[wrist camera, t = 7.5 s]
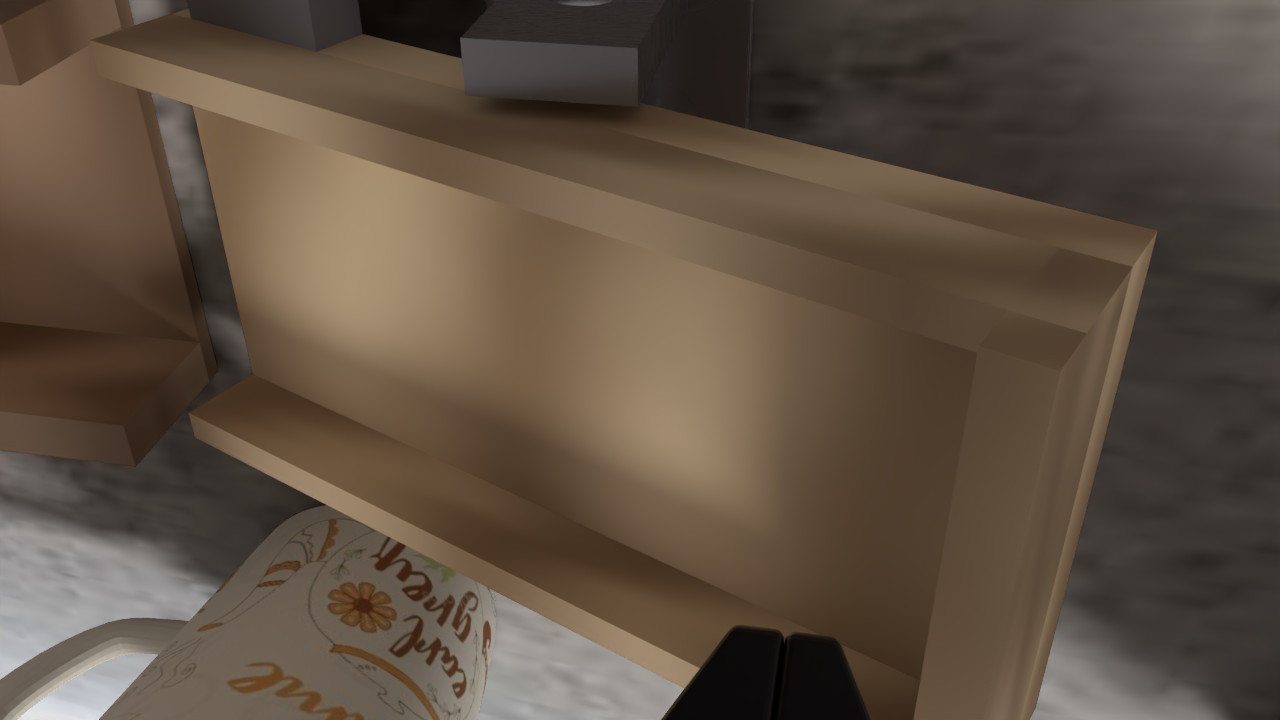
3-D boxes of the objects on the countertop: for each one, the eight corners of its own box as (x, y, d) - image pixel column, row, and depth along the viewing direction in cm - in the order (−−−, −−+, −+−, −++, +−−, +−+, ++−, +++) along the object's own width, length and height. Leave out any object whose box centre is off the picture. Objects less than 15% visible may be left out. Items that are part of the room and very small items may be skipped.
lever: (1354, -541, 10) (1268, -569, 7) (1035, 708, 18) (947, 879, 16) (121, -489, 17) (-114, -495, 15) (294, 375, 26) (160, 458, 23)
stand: (757, -81, 19) (715, 13, 15) (733, 473, 25) (698, 641, 21) (490, -92, 20) (383, -4, 16) (530, 449, 26) (460, 608, 22)
